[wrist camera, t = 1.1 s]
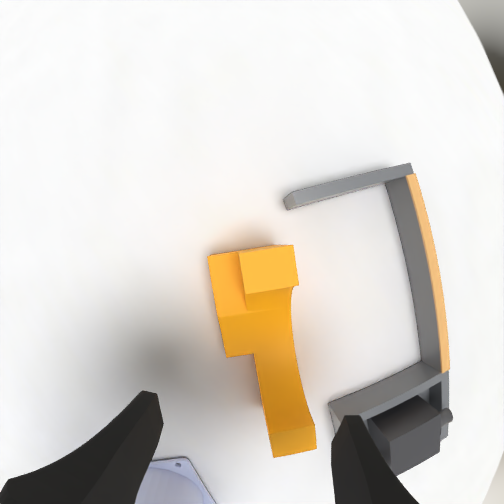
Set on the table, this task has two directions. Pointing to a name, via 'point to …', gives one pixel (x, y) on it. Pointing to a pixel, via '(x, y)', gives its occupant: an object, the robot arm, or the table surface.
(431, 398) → the grey piece
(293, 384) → the pipe clamp
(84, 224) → the table surface
